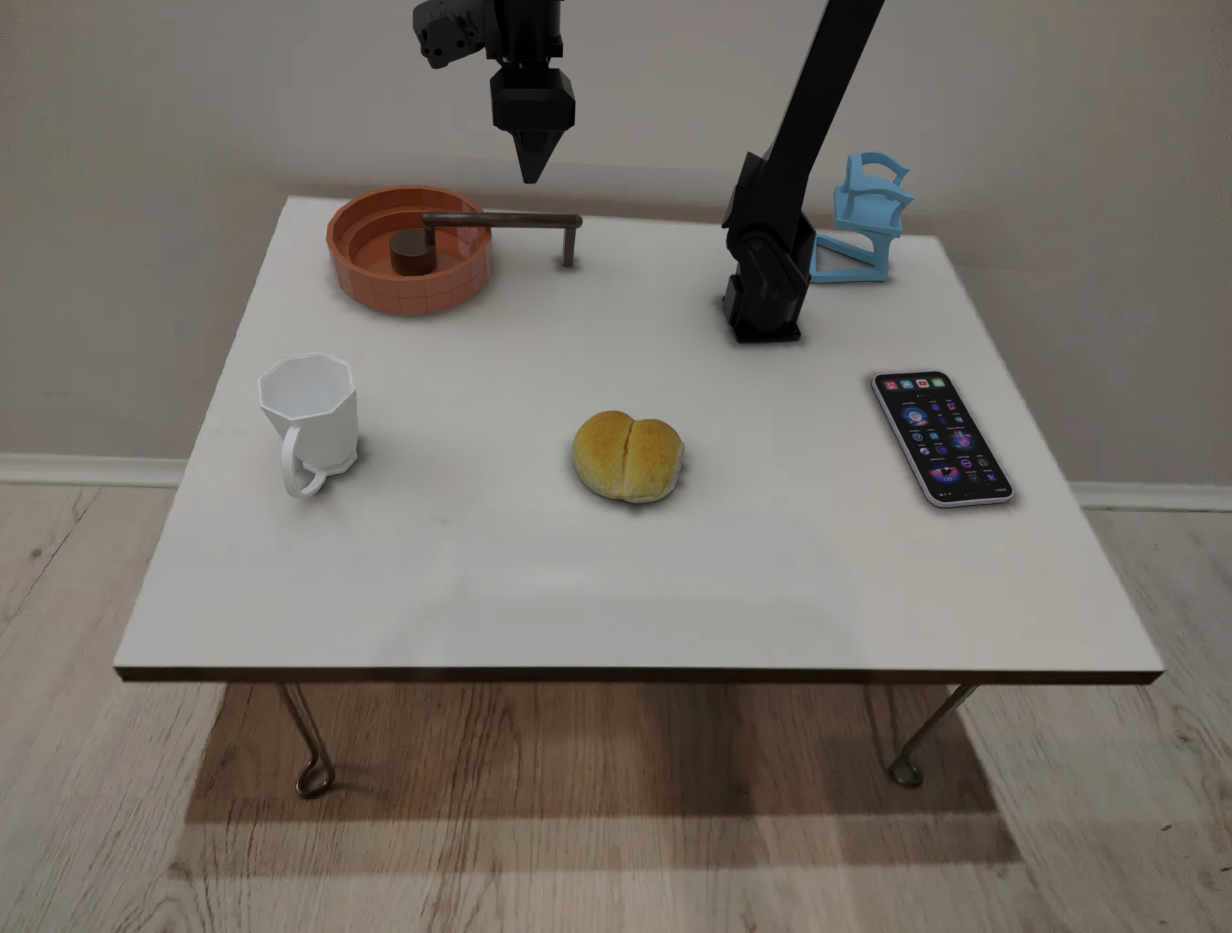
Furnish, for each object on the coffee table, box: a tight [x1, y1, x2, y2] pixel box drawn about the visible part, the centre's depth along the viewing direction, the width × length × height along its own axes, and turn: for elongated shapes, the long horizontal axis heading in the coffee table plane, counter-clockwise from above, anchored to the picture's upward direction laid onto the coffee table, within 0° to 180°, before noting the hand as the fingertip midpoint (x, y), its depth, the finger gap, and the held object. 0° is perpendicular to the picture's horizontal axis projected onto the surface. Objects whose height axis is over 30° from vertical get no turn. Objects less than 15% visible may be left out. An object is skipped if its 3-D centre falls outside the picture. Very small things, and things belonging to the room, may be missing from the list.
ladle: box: [389, 211, 584, 276], centre depth 76 cm, size 19×4×6 cm, turn 99°
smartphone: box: [871, 369, 1015, 508], centre depth 68 cm, size 8×1×15 cm
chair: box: [809, 150, 916, 284], centre depth 79 cm, size 8×8×12 cm
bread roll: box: [571, 409, 686, 504], centre depth 62 cm, size 8×9×4 cm
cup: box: [257, 350, 359, 499], centre depth 58 cm, size 7×10×8 cm
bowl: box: [325, 184, 494, 315], centre depth 76 cm, size 15×15×4 cm
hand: (525, 154), depth 70 cm, fingers open, 9 cm apart
